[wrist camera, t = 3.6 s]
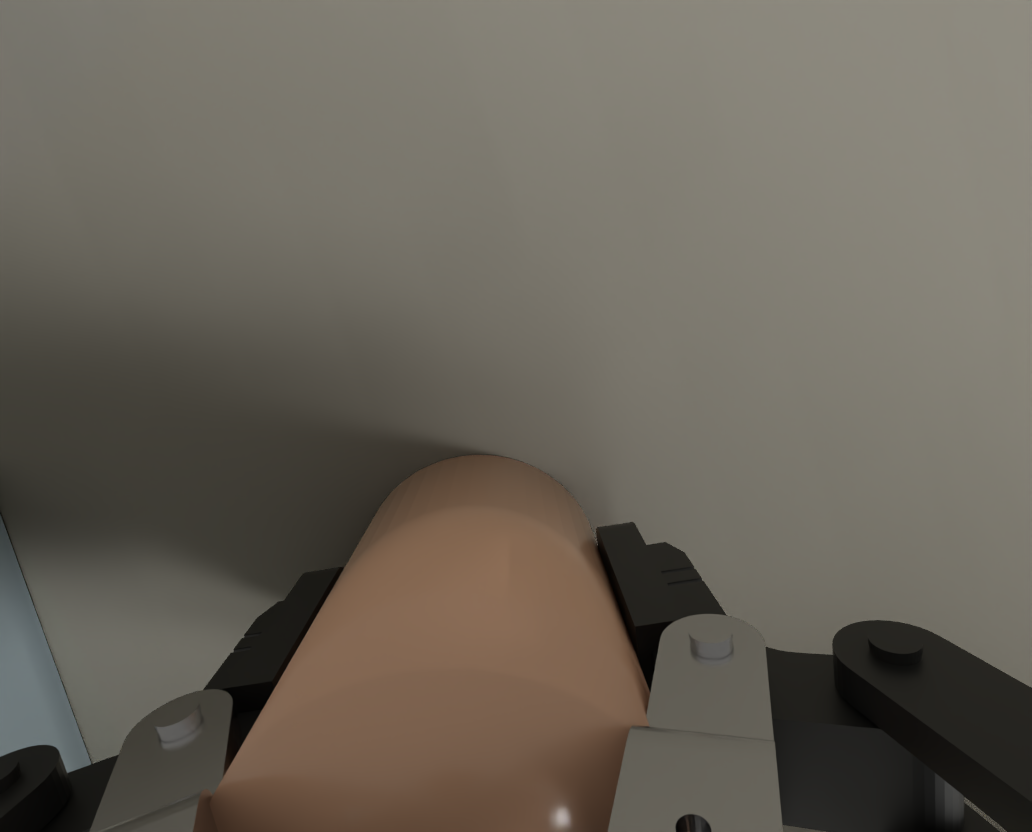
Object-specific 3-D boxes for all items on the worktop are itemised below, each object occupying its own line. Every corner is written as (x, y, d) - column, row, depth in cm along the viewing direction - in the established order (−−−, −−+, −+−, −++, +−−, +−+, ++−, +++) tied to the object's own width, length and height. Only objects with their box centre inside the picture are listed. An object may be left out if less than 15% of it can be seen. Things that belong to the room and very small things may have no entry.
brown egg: (580, 437, 12) (678, 628, 5) (611, 653, 13) (726, 1048, 6) (339, 475, 12) (127, 713, 5) (389, 688, 13) (264, 1113, 6)
